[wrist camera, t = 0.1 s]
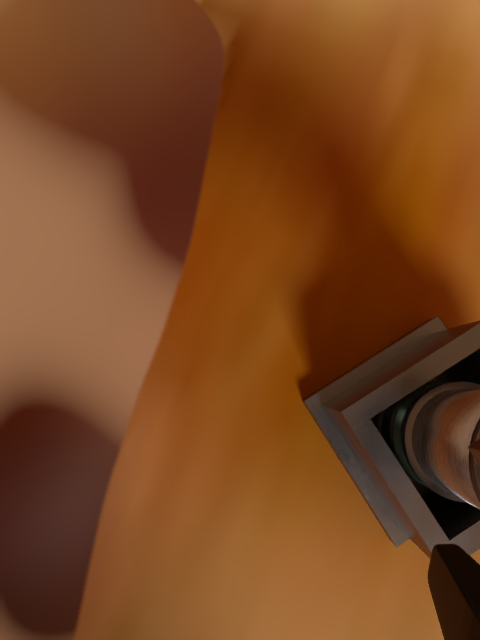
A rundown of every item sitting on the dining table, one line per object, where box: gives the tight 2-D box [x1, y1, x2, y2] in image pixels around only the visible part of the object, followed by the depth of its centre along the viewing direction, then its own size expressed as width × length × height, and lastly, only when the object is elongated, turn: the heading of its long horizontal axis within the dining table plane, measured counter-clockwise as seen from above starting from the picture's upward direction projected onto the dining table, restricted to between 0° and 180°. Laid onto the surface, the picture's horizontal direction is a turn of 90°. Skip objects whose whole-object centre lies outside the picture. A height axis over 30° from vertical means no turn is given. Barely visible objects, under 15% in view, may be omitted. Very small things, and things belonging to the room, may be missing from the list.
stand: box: [302, 316, 480, 559], centre depth 20 cm, size 8×8×6 cm
